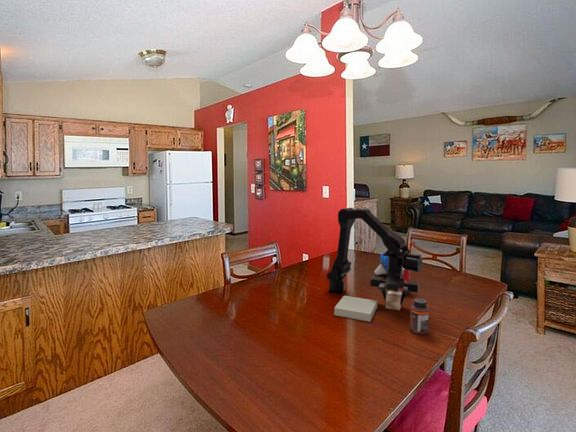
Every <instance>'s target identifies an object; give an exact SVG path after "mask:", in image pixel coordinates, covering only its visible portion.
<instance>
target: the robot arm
mask: <svg viewBox="0 0 576 432" xmlns="http://www.w3.org/2000/svg"><path fill="white" fill-rule="evenodd" d="M357 219H360V220H363V222H364V223H365V224H367V226H369V228H370V229H371V230H372V231H373V232H374V233H375V234H376V235H378V237H379V238H380V239H381V241H382V244H383V245H384V247H385V248H386V249H387V250H386V252H383V253H384V254H383V253H382V254H383V255H384V256H388V274H386V277H385V279H383V277H382V276H377V275H375V276H374V275H373V276H372V277H371V279H370V287H375V288H377V289H378V290H380V291H381V294H382V296H383V299H384V302H385V303H386V294H387V292H388V291H393V292H395V291H398V290H399V288H403V291H402V296H401V302H400V305H401V306H402V305H403V302H404V300H405V298H406V296H407V294H410V293H419V291H420V290H419V289H420V288H419V287H420V283H419V281H417V280H416V281H415V280H410V281H409V282H408V283H404V279H402V267H403V268H404V269H405V270H409V271H410V272H414V273H421V272H422V271H423V267H424V262H423V258H422V255H421V254H414V253H411V251H410V249H409V248H408V246H407V244H406V240H405V239H404V237H402V236H401V235H399V234H397V232H394V231H392V230H390V229H389V228H388V227H386V225H385V224H384V223H382V221H380V220H379V219H378V218H377V217H376V216H375V214H373V213H372V212H371V211H370V209H369V208H363V209H362V208H361V209H360V208H359V209H355V208H353V207H345V208H341V209H340V210H339V211H338V213H337V222H338V225H339V227H340V229H339V236H338V237H339V238H338V243H337V252H336V258H335V260H334V261H333V263H332V266H331V270H330V271H329V272H328V273H327V274H326V278H327V280H328V281H329V282H328V284H329V286H328V290H327V291H328V293H335V294H342V293H344V291H345V290H346V281H345V277H347V275H348V274H349V272H350V271H351V270H352V269H351V265H352V261H349V259H348V256H349V255H348V254H349V246H350V240H351V239H350V237H351V231H352V228H353V226H354V224H355V222H356V220H357Z"/></svg>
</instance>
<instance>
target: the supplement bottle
mask: <svg viewBox="0 0 576 432" xmlns="http://www.w3.org/2000/svg"><path fill="white" fill-rule="evenodd" d="M413 300H414V301H413V303H412V305H411V306H410V317H409V318H410V321H409V330H410V331H411V332H413V333H414V334H418V335H425V334H427V333H428V331H429V319H430V318H429V317H430V308H429V307H428V306H427V300H426V299H424V298H414V299H413Z"/></svg>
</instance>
